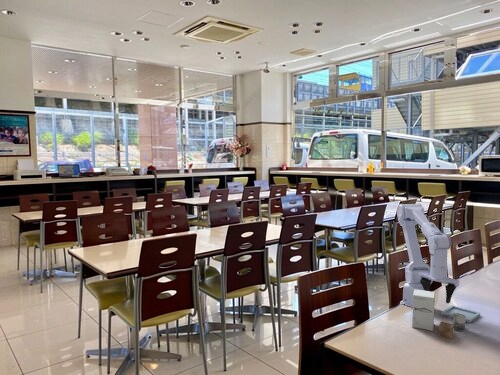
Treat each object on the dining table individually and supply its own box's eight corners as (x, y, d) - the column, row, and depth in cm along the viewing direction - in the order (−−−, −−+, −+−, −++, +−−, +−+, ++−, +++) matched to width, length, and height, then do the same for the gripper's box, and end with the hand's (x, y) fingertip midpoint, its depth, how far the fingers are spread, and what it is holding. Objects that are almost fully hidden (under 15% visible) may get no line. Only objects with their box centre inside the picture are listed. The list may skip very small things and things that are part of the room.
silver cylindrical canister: (451, 328, 140) (451, 315, 139) (454, 325, 142) (455, 312, 142) (462, 332, 137) (463, 318, 136) (466, 328, 139) (467, 315, 139)
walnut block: (438, 336, 134) (439, 325, 133) (440, 332, 137) (440, 321, 137) (451, 339, 131) (452, 328, 131) (452, 334, 135) (453, 324, 134)
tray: (441, 315, 151) (441, 312, 151) (451, 308, 158) (451, 305, 158) (470, 323, 144) (470, 320, 143) (480, 315, 150) (480, 312, 150)
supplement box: (411, 327, 141) (412, 294, 140) (413, 320, 147) (413, 288, 146) (433, 331, 137) (434, 297, 136) (434, 323, 144) (435, 291, 143)
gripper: (415, 263, 148) (414, 297, 149) (454, 271, 137) (453, 308, 139) (423, 260, 153) (422, 293, 154) (462, 267, 142) (460, 303, 143)
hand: (437, 299), depth 147 cm, fingers open, 7 cm apart
